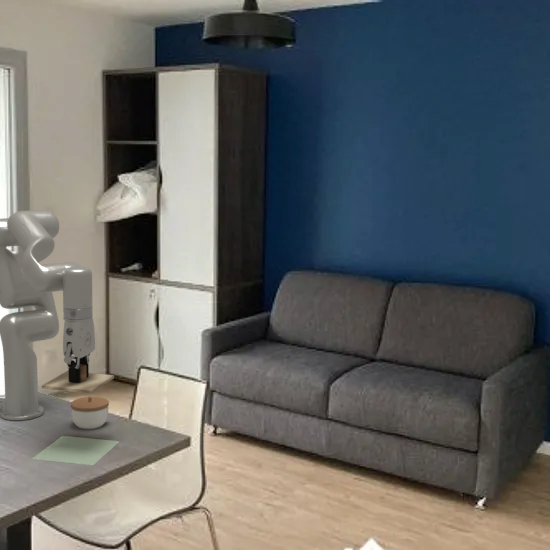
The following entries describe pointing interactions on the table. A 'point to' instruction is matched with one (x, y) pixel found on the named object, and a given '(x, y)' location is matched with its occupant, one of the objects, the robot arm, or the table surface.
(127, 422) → the table surface
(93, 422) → the lidded jar
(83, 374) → the cover
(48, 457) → the mat
